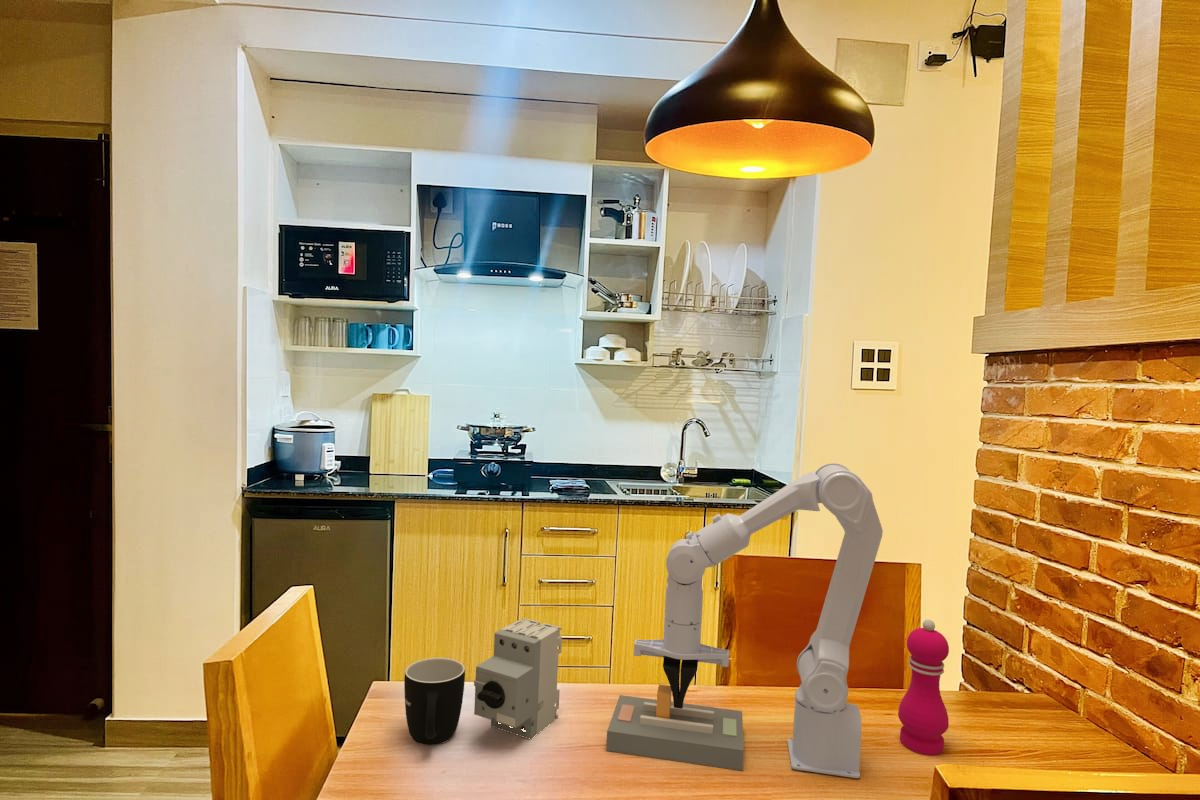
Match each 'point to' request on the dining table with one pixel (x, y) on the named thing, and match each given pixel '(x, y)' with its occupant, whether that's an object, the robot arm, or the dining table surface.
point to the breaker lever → (663, 701)
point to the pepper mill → (924, 692)
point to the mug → (433, 699)
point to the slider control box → (677, 733)
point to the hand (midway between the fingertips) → (678, 705)
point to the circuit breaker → (520, 678)
